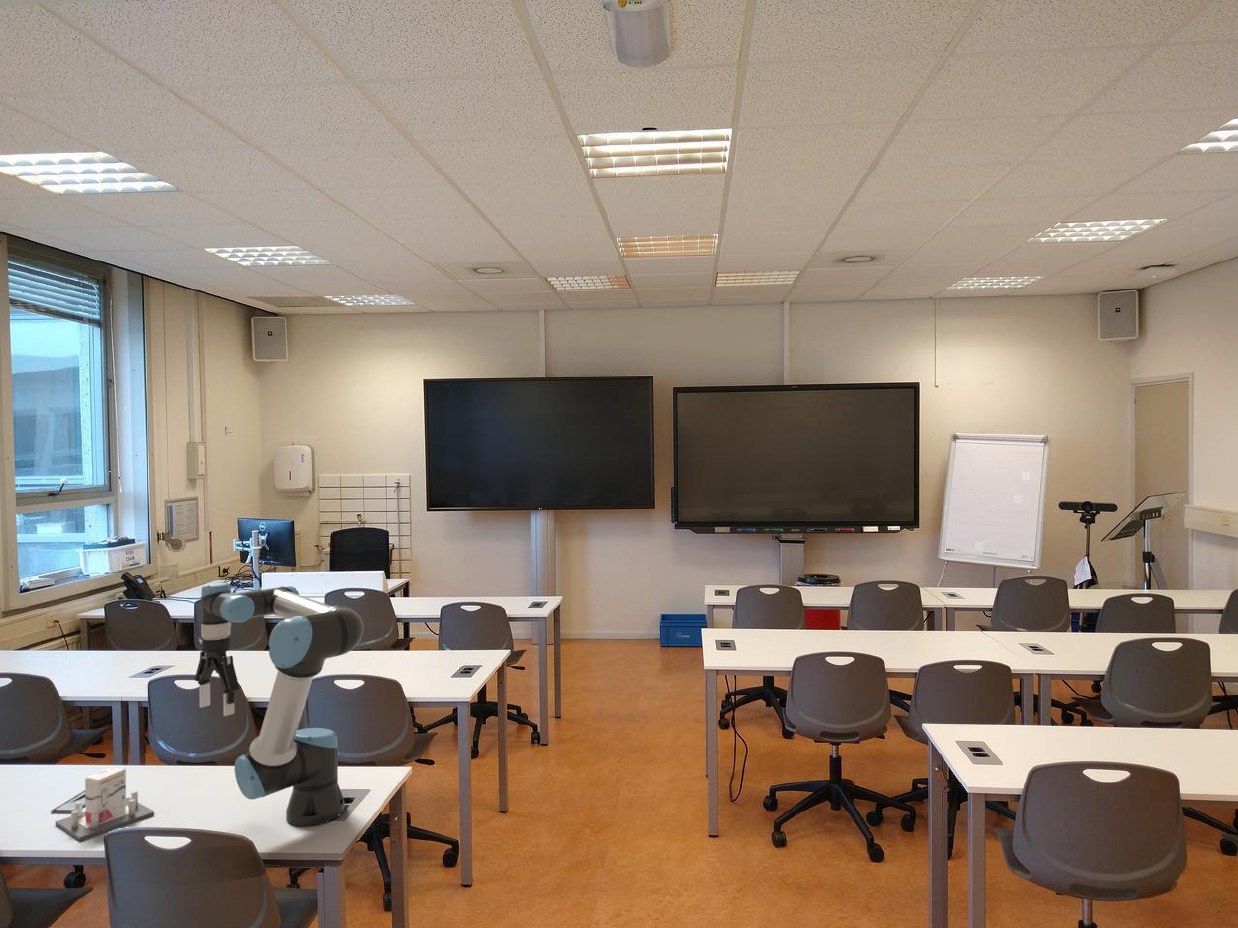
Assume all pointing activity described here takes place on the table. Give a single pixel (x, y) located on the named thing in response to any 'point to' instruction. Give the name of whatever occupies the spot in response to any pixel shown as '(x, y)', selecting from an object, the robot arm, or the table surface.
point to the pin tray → (85, 830)
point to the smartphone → (70, 804)
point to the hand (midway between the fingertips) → (216, 710)
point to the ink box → (105, 793)
